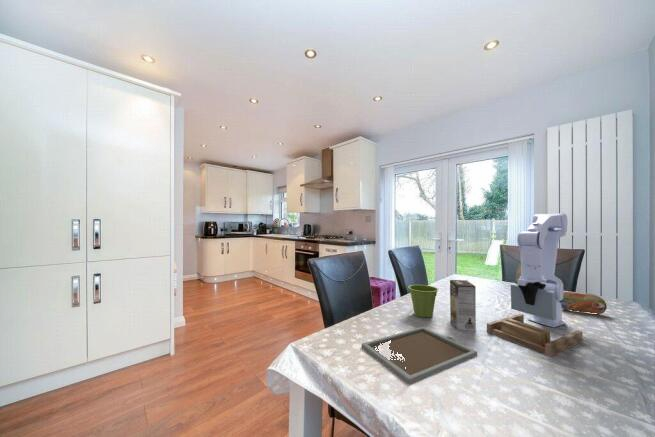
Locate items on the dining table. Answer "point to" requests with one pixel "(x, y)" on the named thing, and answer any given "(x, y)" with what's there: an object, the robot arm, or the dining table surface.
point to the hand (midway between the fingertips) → (532, 303)
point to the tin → (583, 302)
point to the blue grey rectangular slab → (541, 307)
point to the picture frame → (420, 353)
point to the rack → (549, 347)
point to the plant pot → (423, 299)
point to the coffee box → (463, 304)
